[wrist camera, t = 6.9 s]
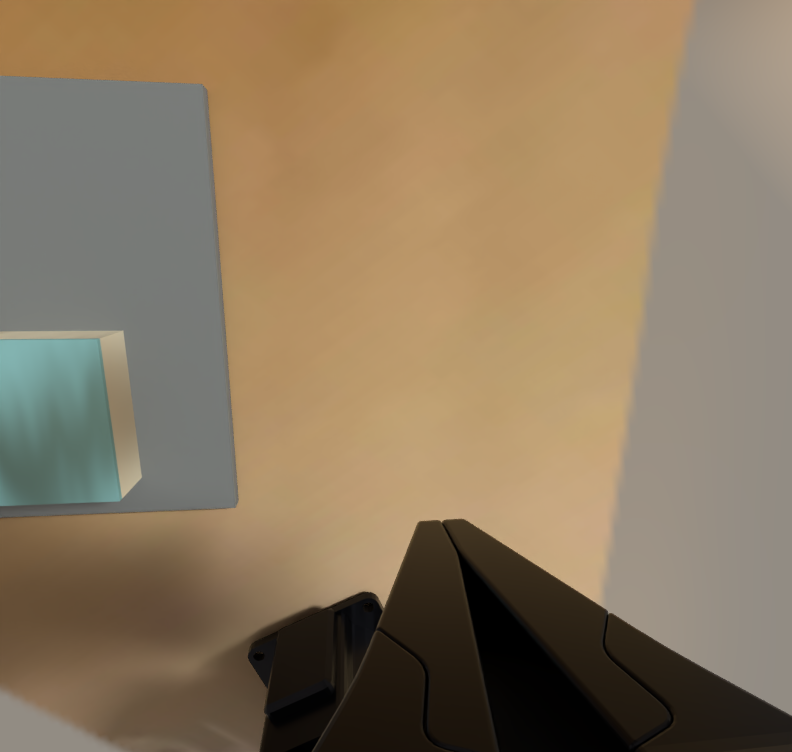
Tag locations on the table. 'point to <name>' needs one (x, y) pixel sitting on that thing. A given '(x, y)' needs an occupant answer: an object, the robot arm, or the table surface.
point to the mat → (124, 265)
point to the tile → (65, 418)
